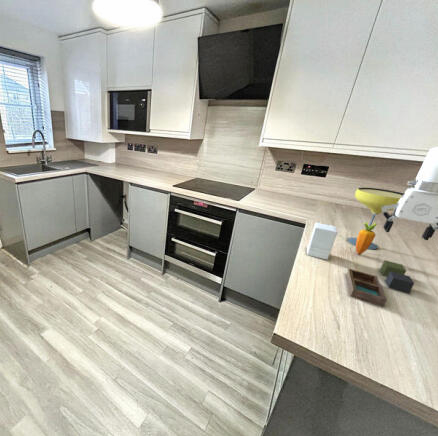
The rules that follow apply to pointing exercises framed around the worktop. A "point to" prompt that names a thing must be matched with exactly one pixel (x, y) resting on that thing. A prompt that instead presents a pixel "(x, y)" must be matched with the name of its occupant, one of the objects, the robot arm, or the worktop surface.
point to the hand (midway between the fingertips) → (404, 234)
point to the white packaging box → (321, 240)
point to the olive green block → (392, 268)
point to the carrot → (365, 238)
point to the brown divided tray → (365, 287)
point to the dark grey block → (399, 282)
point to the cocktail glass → (375, 203)
